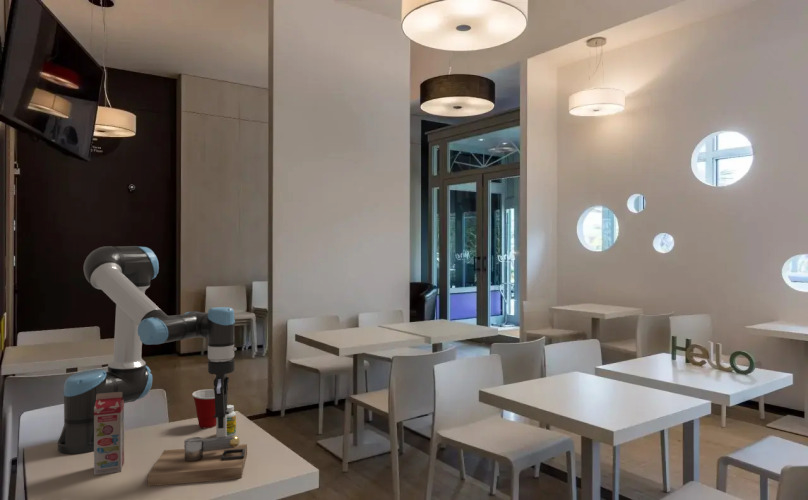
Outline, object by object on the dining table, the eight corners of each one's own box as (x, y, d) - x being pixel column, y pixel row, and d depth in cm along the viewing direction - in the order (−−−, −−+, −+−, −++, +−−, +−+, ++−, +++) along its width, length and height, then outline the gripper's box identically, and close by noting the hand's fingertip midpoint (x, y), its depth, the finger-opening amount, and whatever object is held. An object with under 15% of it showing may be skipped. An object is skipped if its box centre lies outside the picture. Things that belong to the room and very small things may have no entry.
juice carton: (98, 466, 155) (98, 391, 155) (124, 462, 157) (123, 388, 157) (94, 475, 149) (93, 396, 149) (120, 471, 151) (120, 394, 151)
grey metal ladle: (184, 462, 149) (184, 444, 149) (184, 455, 154) (184, 438, 154) (240, 454, 155) (240, 437, 155) (238, 448, 160) (238, 431, 160)
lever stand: (164, 460, 159) (164, 447, 159) (247, 453, 164) (247, 441, 164) (148, 486, 142) (148, 471, 142) (241, 477, 147) (241, 464, 147)
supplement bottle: (231, 430, 186) (231, 403, 186) (238, 434, 182) (238, 406, 182) (216, 434, 182) (216, 406, 182) (223, 438, 178) (223, 409, 178)
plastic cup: (213, 431, 185) (213, 397, 185) (185, 429, 187) (185, 395, 187) (229, 421, 195) (229, 389, 195) (203, 420, 197) (203, 387, 197)
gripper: (231, 363, 154) (231, 444, 154) (236, 354, 166) (236, 429, 166) (204, 364, 152) (204, 446, 152) (211, 355, 165) (211, 431, 165)
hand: (221, 437), depth 159 cm, fingers closed
